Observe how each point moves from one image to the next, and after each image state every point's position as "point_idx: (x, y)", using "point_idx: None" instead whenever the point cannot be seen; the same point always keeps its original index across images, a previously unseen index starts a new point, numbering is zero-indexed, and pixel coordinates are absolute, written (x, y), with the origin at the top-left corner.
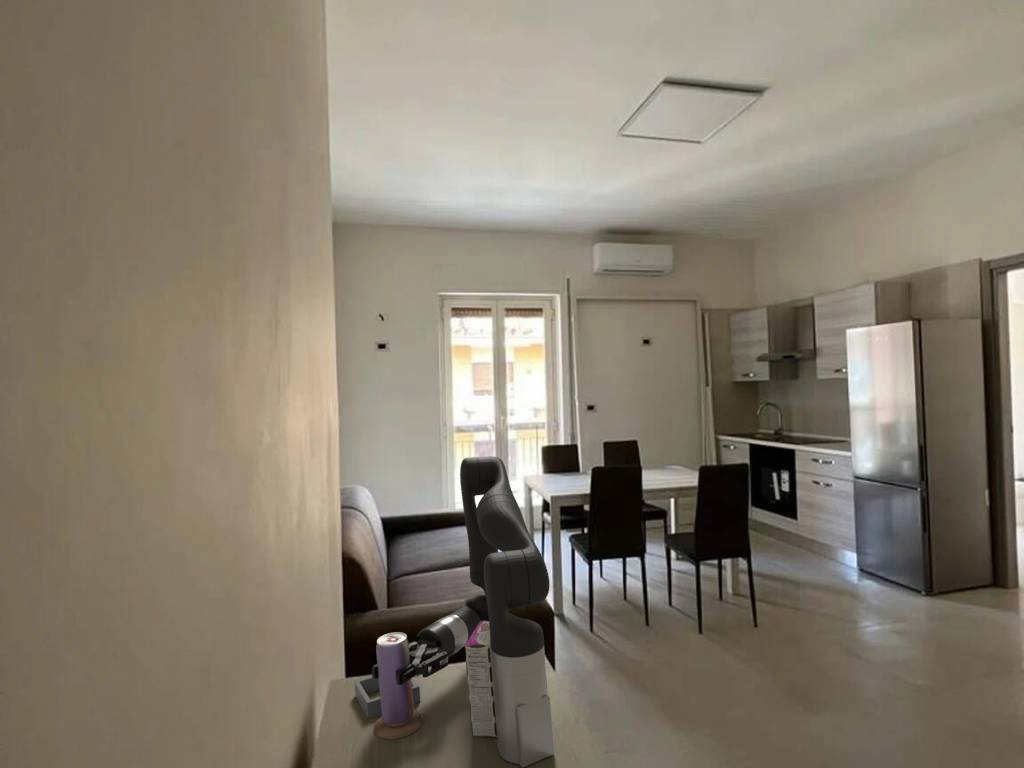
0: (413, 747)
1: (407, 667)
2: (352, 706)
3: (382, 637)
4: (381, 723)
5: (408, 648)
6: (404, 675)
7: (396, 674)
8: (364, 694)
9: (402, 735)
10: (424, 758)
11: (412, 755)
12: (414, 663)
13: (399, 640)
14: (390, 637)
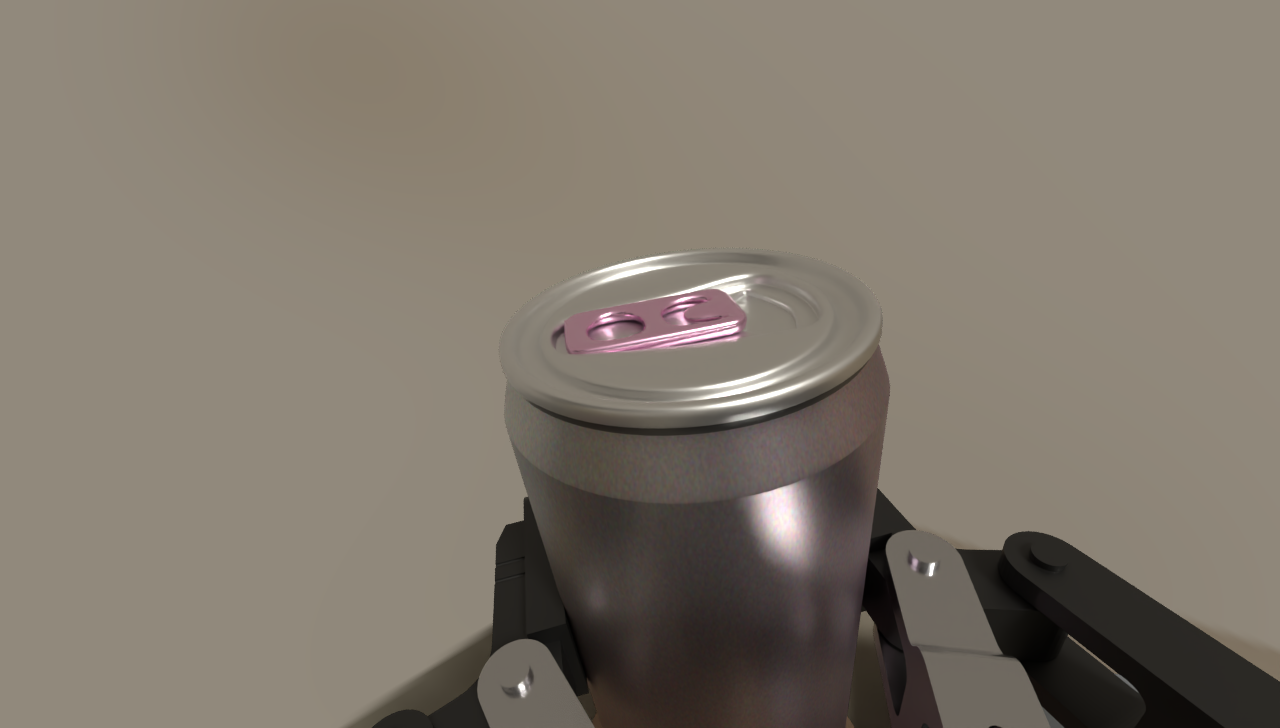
0: None
1: (533, 575)
2: None
3: (834, 287)
4: None
5: (556, 525)
6: (501, 536)
7: None
8: None
9: (595, 716)
10: (391, 701)
11: (457, 676)
12: (515, 658)
13: (565, 341)
14: (738, 310)
